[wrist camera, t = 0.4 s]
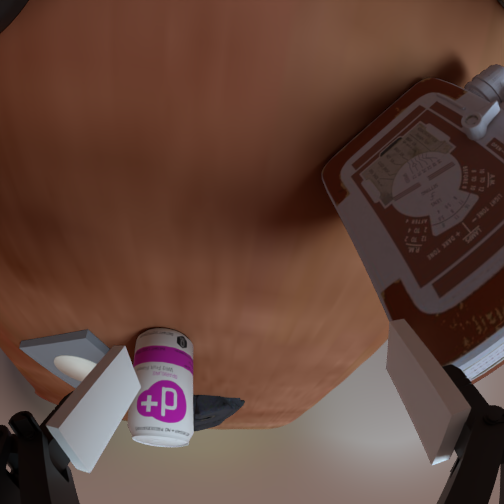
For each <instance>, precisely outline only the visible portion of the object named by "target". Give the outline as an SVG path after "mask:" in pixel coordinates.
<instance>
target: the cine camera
mask: <svg viewBox="0 0 504 504" xmlns="http://www.w3.org/2000/svg"><path fill="white" fill-rule="evenodd" d="M464 88H465V89H463V88H461V87H459V86H457V85H454V84H452V83H449V82H446V81H443V80H440V79H437V78H430V77H428V78H425V79H423V80H421V81H420V82H418V83H416V84H415V85H414V86H413V87H412V88H410V89H409V90H408V91H407V92H406V93H404V94H403V95H402V96H401V97H400V98H399V99H398V100H396V101H395V102H394V103H393V104H392V105H391V106H390V107H388V108H387V109H386V110H385V111H384V112H383V113H382V114H380V115H379V116H378V117H377V118H376V119H375V120H374V121H373V122H371V123H370V124H369V125H368V126H367V127H366V128H365V129H364V130H362V131H361V132H360V133H359V134H358V135H357V136H356V137H355V138H353V139H352V140H351V141H350V142H349V143H348V144H347V145H346V146H344V147H343V148H342V149H341V150H340V151H339V152H338V153H337V154H336V155H335V156H334V157H333V158H331V159H330V160H329V162H328V163H327V164H326V165H325V167H324V168H323V170H322V181H323V183H324V186H325V188H326V191H327V193H328V195H329V197H330V199H331V201H332V203H333V205H334V206H335V208H336V210H337V212H338V214H339V216H340V218H341V220H342V222H343V224H344V226H345V228H346V230H347V232H348V234H349V236H350V238H351V240H352V242H353V244H354V246H355V248H356V250H357V252H358V254H359V256H360V258H361V260H362V262H363V264H364V266H365V268H366V271H367V273H368V275H369V277H370V279H371V281H372V284H373V286H374V288H375V290H376V292H377V295H378V297H379V299H380V301H381V303H382V306H383V308H384V310H385V313H386V315H387V317H388V320H389V321H394V320H400V319H405V321H406V322H407V323H408V324H409V326H410V327H411V328H412V329H413V330H414V332H415V333H416V334H417V335H418V337H419V338H420V339H421V341H422V342H423V343H424V344H425V346H426V347H427V348H428V349H429V351H430V352H431V353H432V355H433V356H434V357H435V359H436V360H437V361H438V362H439V364H440V365H441V366H442V367H443V366H446V365H450V364H453V365H454V366H456V367H458V368H460V369H461V370H462V371H463V372H464V374H465V375H466V376H467V378H468V379H469V380H470V381H471V382H472V384H474V383H476V382H477V381H479V380H481V379H482V378H484V377H486V376H487V375H489V374H490V373H492V372H493V371H495V370H496V369H497V368H499V367H500V366H502V365H503V364H504V67H502V66H500V65H497V64H495V65H491V66H489V67H488V68H487V69H486V70H483V71H482V72H481V73H480V74H479V75H476V76H475V77H474V78H473V79H472V82H468V83H467V84H466V85H465V87H464Z"/></svg>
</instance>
